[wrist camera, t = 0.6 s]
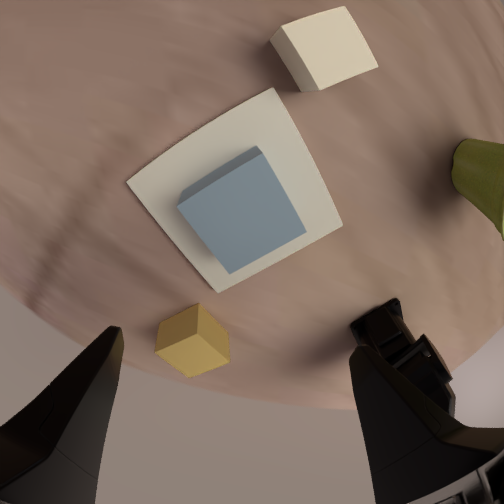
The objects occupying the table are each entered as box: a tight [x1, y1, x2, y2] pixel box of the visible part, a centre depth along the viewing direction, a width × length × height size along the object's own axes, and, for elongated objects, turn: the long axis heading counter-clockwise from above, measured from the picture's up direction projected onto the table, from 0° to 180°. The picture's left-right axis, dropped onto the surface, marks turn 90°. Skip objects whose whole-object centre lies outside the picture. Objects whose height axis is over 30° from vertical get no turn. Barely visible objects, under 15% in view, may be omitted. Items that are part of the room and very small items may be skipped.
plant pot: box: [451, 139, 504, 241], centre depth 16 cm, size 9×9×9 cm
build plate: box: [126, 87, 343, 293], centre depth 20 cm, size 12×12×1 cm
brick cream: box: [269, 6, 379, 92], centre depth 13 cm, size 4×4×4 cm
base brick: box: [176, 145, 307, 275], centre depth 18 cm, size 6×6×3 cm
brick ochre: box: [154, 303, 230, 378], centre depth 25 cm, size 5×5×4 cm
